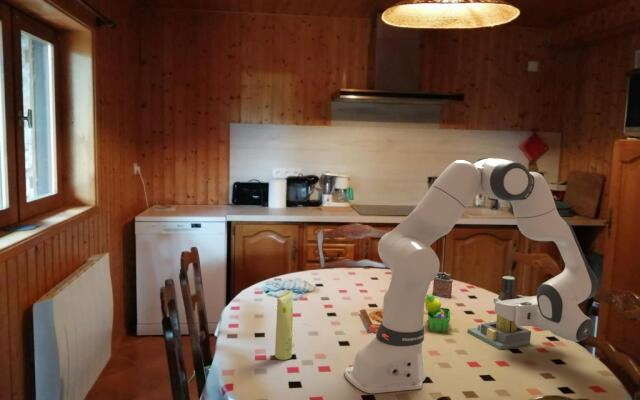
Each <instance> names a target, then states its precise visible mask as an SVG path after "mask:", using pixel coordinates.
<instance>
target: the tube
mask: <svg viewBox="0 0 640 400" xmlns="http://www.w3.org/2000/svg"><path fill="white" fill-rule="evenodd" d="M275 324H276V325H275V327H276V328H275V343H274V344H275V345H274V347H275V348H274V356H275V358H276V359H277V360H282V361H286V360H289V359H291V358H292V357H293V289H290V290H289V291H286V292H284V293H283V294H281V295H279V296H278V297H277V306H276V323H275Z"/></svg>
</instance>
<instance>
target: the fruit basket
mask: <svg viewBox="0 0 640 400" xmlns="http://www.w3.org/2000/svg"><path fill="white" fill-rule="evenodd" d="M424 308H425V310H426V311H427V319H428V323H429V329H430V331H435V332H444V333H446V332H447V329H448V325H449V323H450V321H451V319H452V318H451V309H450V308H447V307H442V303H441V301H440V300H439V299H438V298H436V296H434V295H432V294H426V298H425V305H424Z"/></svg>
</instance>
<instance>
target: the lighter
mask: <svg viewBox="0 0 640 400" xmlns="http://www.w3.org/2000/svg"><path fill="white" fill-rule="evenodd" d="M453 282H454V280H453V279H452V278H451V274H450V273H447V272H445V271H444V272H441V271H439V272H438V274H437V276H436V277H435V278H434V279H433V284H432V285H433V287H432V293H431V295H433V296H434V297H439V298H443V299H452V292H453V291H452V290H453Z"/></svg>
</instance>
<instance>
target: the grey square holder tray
mask: <svg viewBox="0 0 640 400" xmlns="http://www.w3.org/2000/svg"><path fill="white" fill-rule="evenodd" d="M490 322H495V321H494V320H491V321H486V323H490ZM484 323H485V322H484V321H483V322H482V323H480V322H477V326H476V327H472V328H468V329H467V333H468V334H470V335H471V336H473V337H475V338H477V339H479V340H481V341H483V342H485V343H487V344H488V345H490V346H492V347H494V348H496V349H498V350H503V349H504V350H505V349H509V348H515V347H520V346H524V345H525V346H526V345H529V344H531V339H530V340H528V341H523V342H518V343H513V344H508V345H504V344H502V343H500V342H498V341H496V340H495V341H492V340H490V339H488V338H486V335H484V334H482V333H480V332H481V324H484Z"/></svg>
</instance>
